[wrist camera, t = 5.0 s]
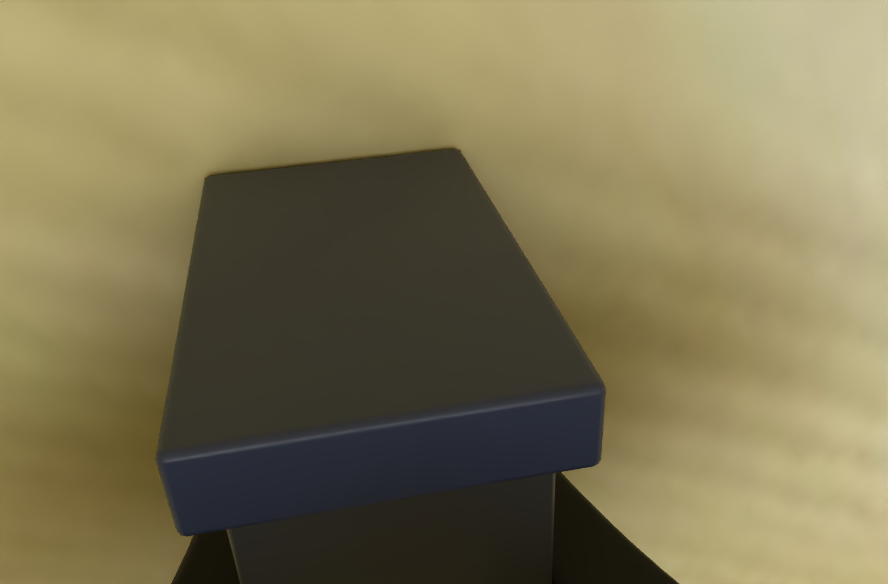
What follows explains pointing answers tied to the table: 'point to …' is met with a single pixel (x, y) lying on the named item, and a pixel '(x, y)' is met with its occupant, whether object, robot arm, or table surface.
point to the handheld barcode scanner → (371, 380)
